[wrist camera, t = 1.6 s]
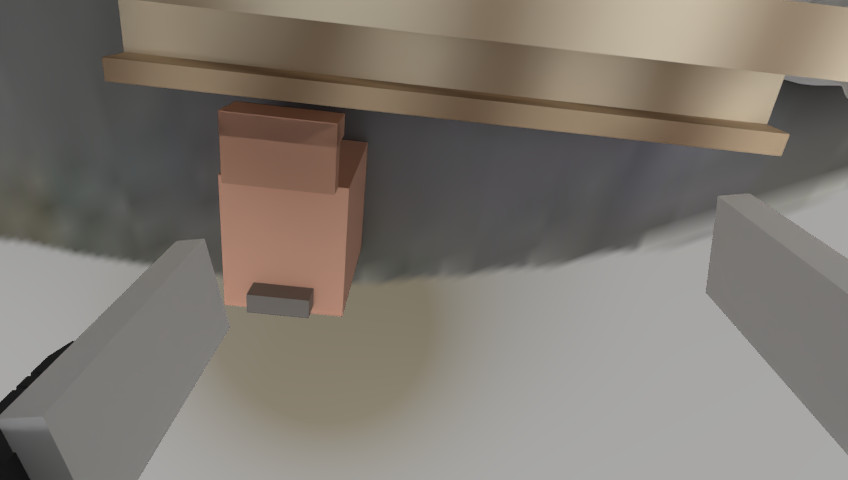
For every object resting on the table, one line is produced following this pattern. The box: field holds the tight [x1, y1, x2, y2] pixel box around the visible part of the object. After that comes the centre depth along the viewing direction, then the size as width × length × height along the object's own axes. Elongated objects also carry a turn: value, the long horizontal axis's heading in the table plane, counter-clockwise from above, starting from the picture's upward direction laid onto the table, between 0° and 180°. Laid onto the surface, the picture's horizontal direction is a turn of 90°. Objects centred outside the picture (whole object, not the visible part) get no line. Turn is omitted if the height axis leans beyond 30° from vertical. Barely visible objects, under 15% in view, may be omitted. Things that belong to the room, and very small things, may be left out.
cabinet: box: [218, 101, 368, 318], centre depth 30 cm, size 6×10×9 cm, turn 174°
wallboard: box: [102, 0, 848, 156], centre depth 21 cm, size 24×5×19 cm, turn 84°
